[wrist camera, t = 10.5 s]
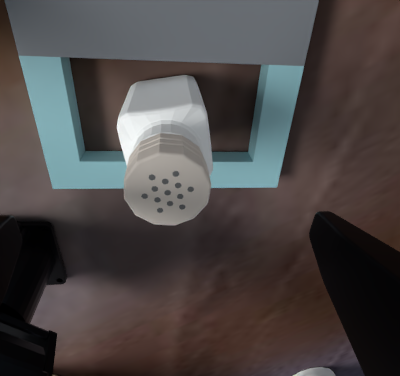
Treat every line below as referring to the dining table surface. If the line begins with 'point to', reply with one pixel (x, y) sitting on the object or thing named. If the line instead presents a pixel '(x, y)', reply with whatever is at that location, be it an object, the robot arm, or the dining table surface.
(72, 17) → the panel
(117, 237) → the dining table surface
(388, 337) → the robot arm
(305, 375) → the foam cup
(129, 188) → the white salt shaker
